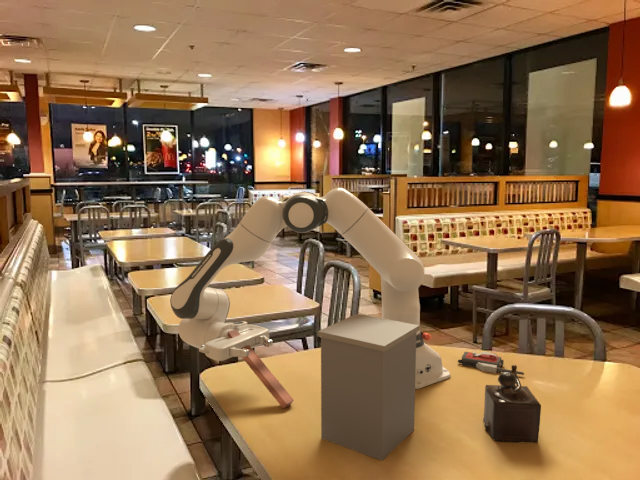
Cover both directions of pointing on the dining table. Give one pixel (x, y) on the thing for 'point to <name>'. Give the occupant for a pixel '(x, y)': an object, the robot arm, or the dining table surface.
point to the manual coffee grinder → (511, 410)
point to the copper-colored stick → (265, 375)
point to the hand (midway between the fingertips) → (259, 348)
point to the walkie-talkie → (484, 362)
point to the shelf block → (368, 383)
